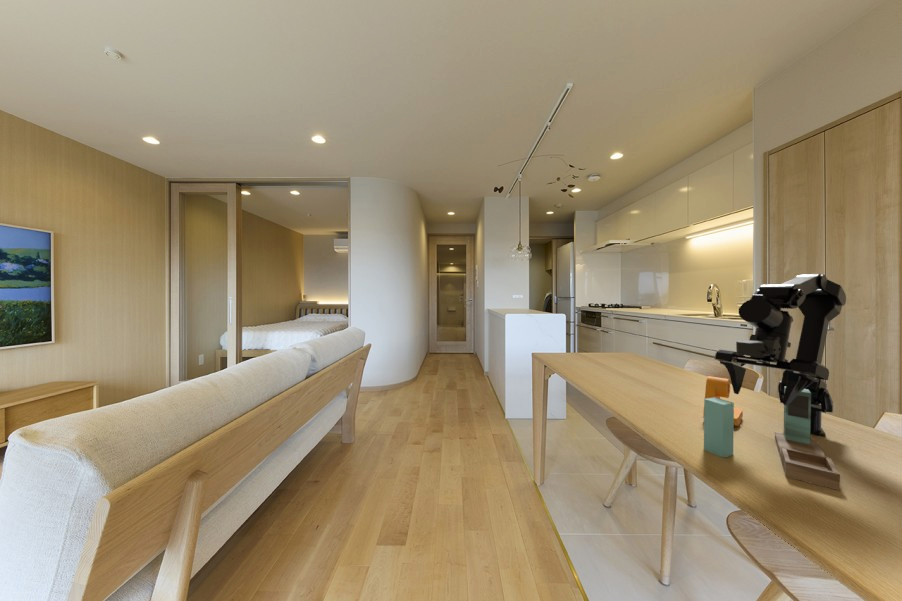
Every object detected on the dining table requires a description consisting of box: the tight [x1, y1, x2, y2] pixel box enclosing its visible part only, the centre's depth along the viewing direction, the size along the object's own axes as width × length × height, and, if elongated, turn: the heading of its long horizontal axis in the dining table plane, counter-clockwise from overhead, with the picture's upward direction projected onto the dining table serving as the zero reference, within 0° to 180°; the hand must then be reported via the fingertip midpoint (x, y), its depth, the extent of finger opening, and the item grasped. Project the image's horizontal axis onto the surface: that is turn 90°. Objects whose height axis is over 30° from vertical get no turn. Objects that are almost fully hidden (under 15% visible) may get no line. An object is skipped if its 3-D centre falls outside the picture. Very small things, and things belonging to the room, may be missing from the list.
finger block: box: [703, 397, 735, 458], centre depth 74 cm, size 4×4×12 cm
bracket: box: [702, 375, 744, 427], centre depth 93 cm, size 11×7×12 cm, turn 131°
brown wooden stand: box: [774, 386, 841, 491], centre depth 70 cm, size 22×7×14 cm, turn 139°
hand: (759, 399), depth 74 cm, fingers open, 9 cm apart
